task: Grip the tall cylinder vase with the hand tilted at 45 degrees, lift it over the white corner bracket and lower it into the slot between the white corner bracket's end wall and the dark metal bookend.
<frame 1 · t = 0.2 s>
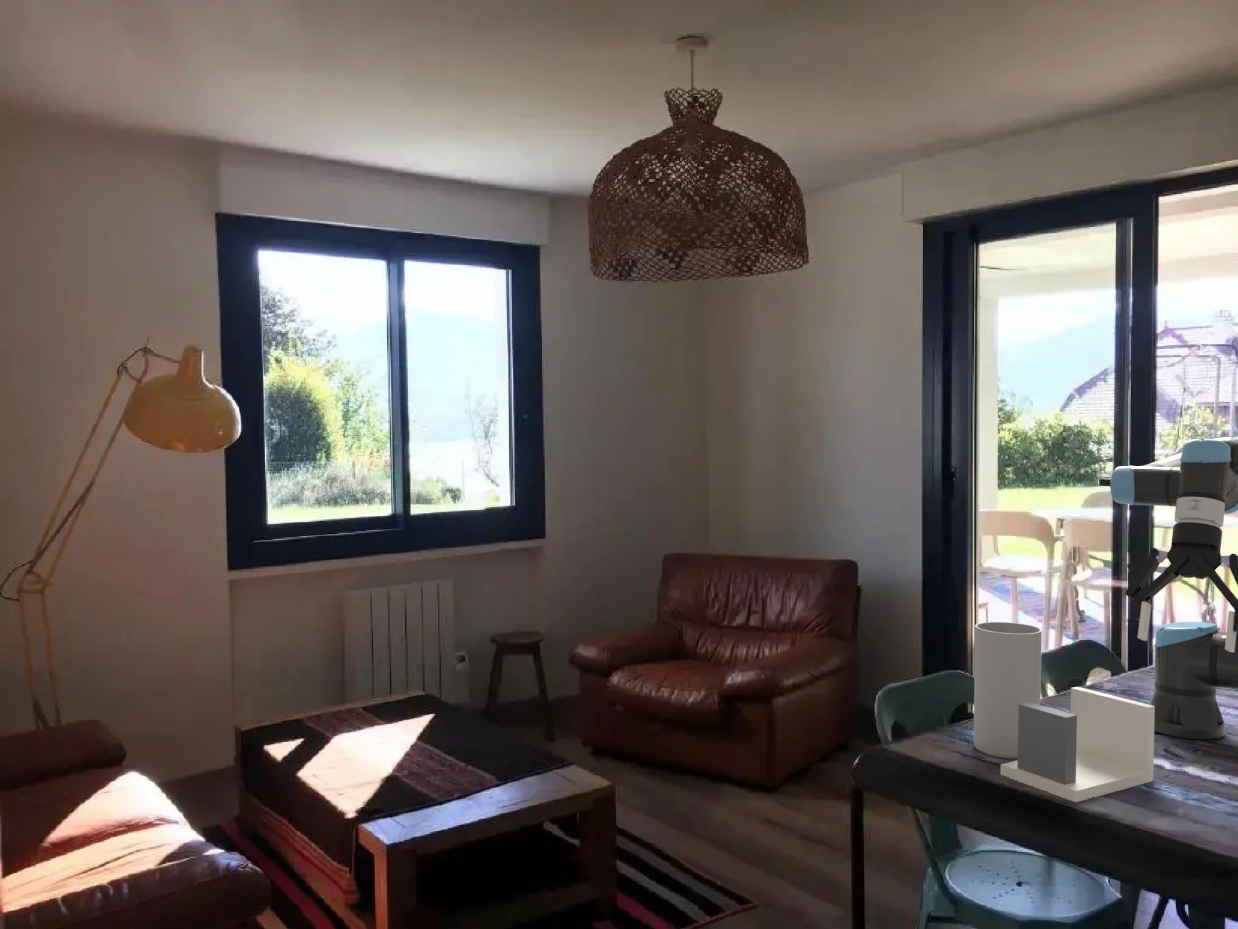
hand: (1184, 645, 172), 28 cm above the table, tool tilted 20°, fingers open, 13 cm apart
white corner bracket: (1076, 778, 186), on the table
cylinder vase: (1006, 751, 202), on the table
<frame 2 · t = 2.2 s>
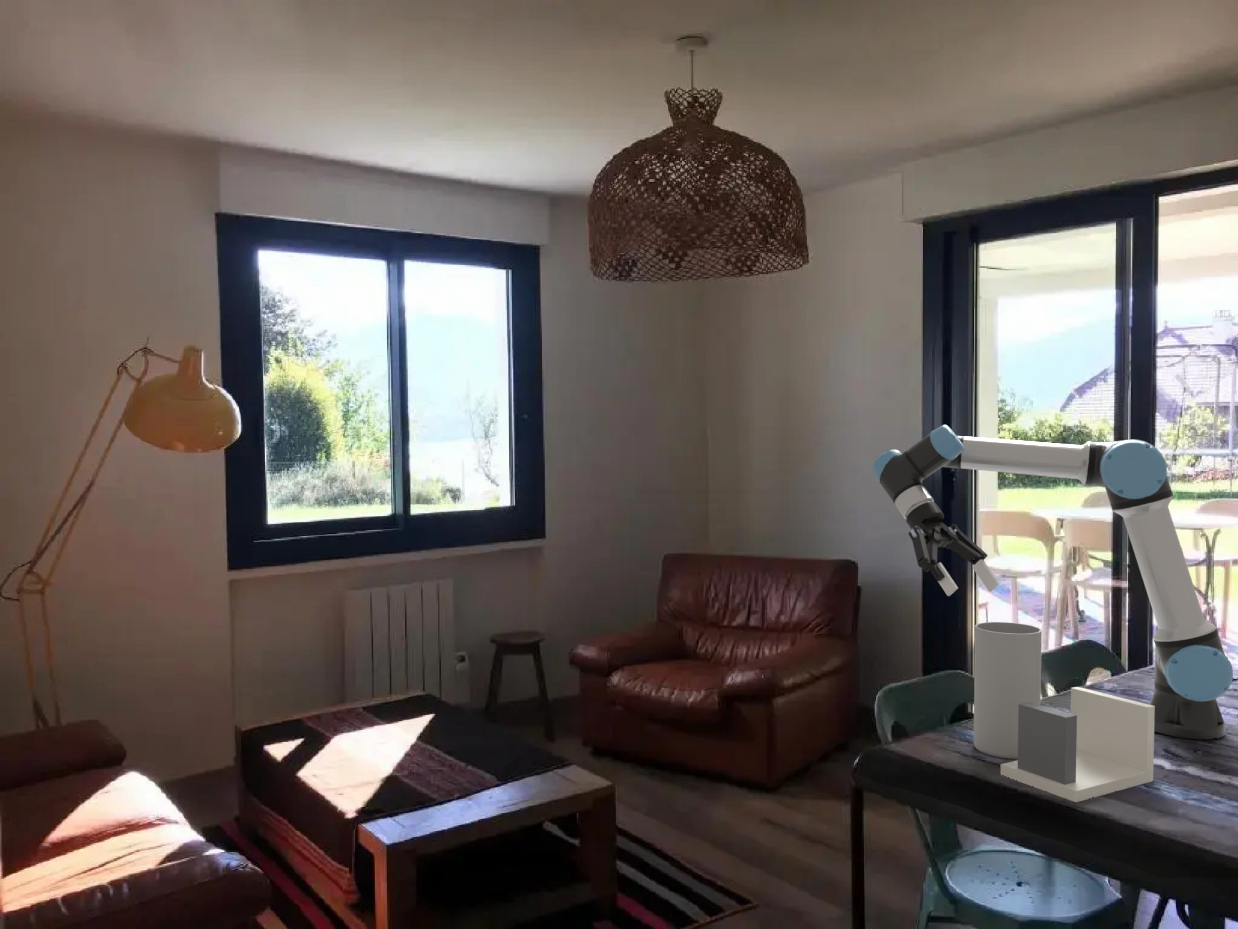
hand: (974, 590, 208), 32 cm above the table, tool tilted 45°, fingers open, 13 cm apart
nothing on the table moved.
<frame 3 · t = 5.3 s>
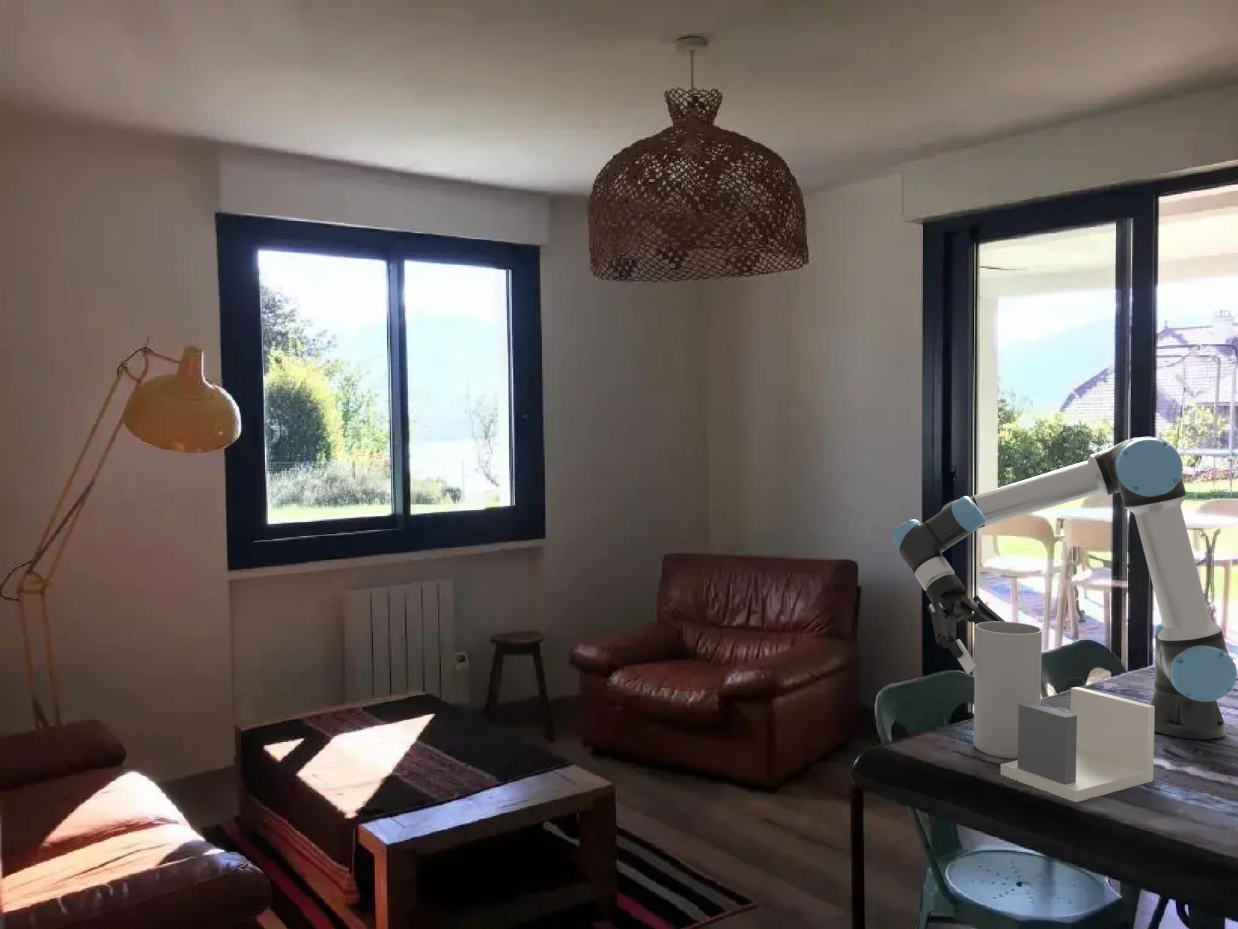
hand: (995, 666, 203), 17 cm above the table, tool tilted 45°, fingers open, 13 cm apart
nothing on the table moved.
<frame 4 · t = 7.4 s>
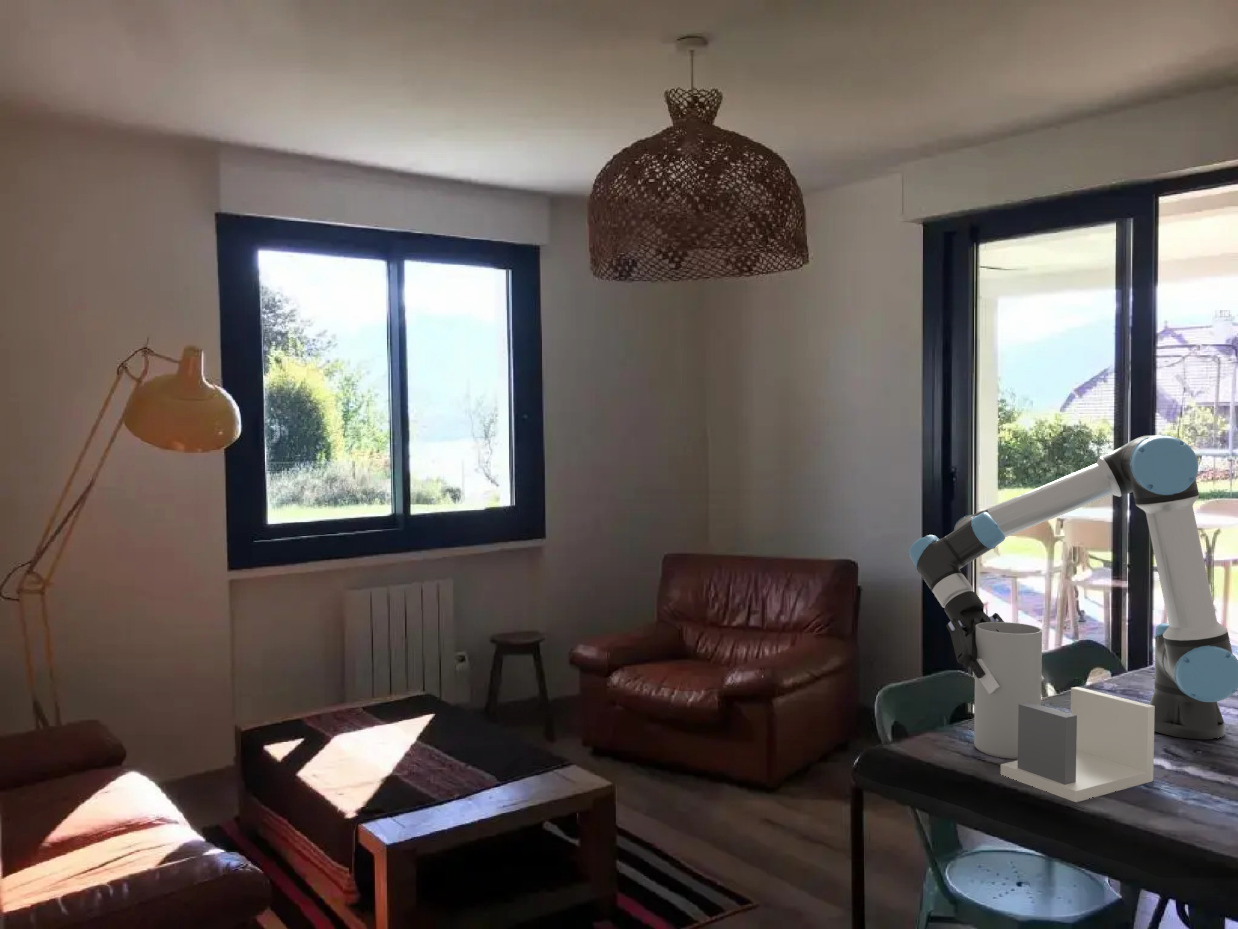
hand: (1017, 686, 199), 14 cm above the table, tool tilted 45°, fingers closed on cylinder vase, 12 cm apart
cylinder vase: (1006, 751, 202), on the table, touching gripper
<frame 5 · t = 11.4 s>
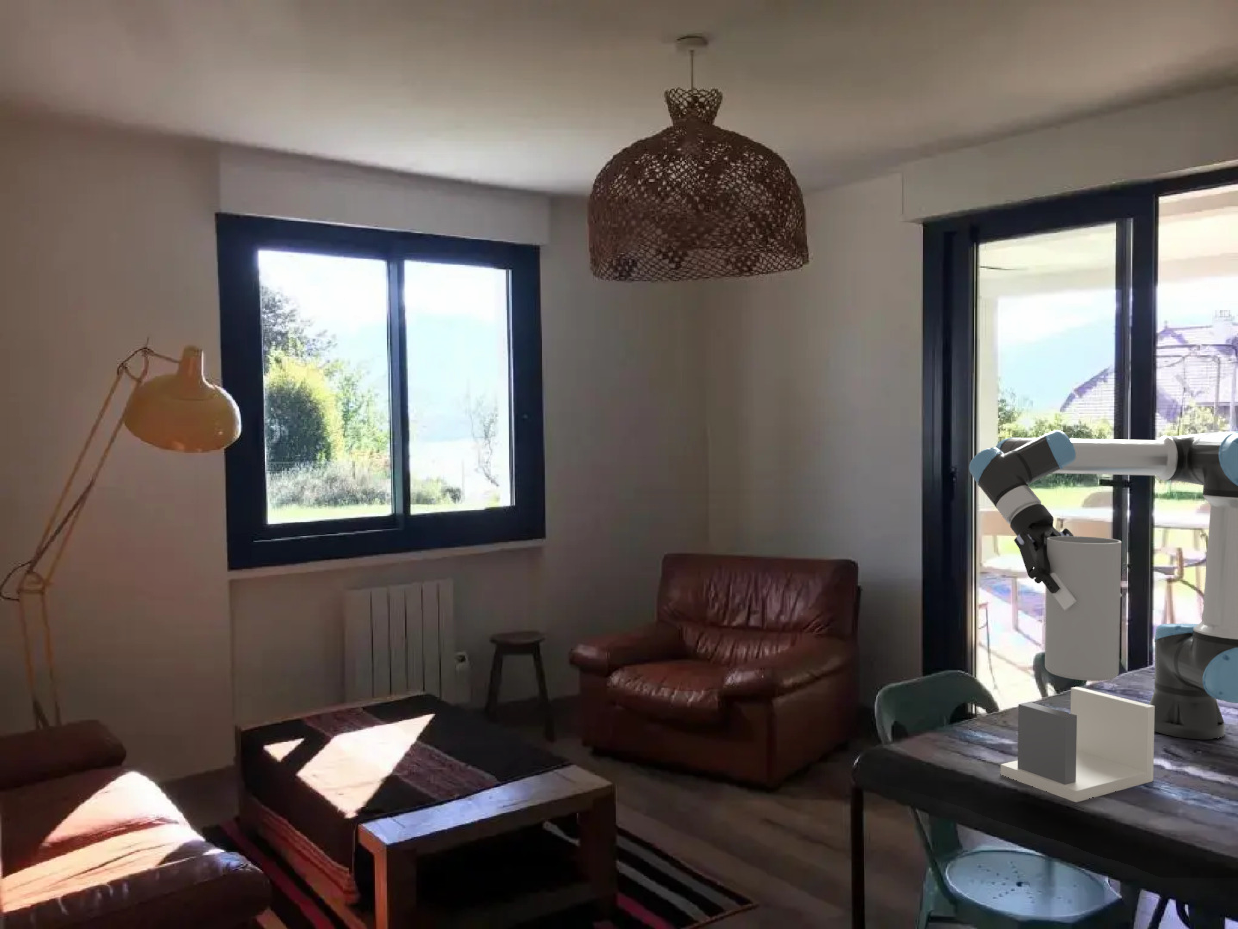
hand: (1094, 603, 183), 33 cm above the table, tool tilted 45°, fingers closed on cylinder vase, 12 cm apart
cylinder vase: (1081, 674, 186), point 19 cm above the table, touching gripper
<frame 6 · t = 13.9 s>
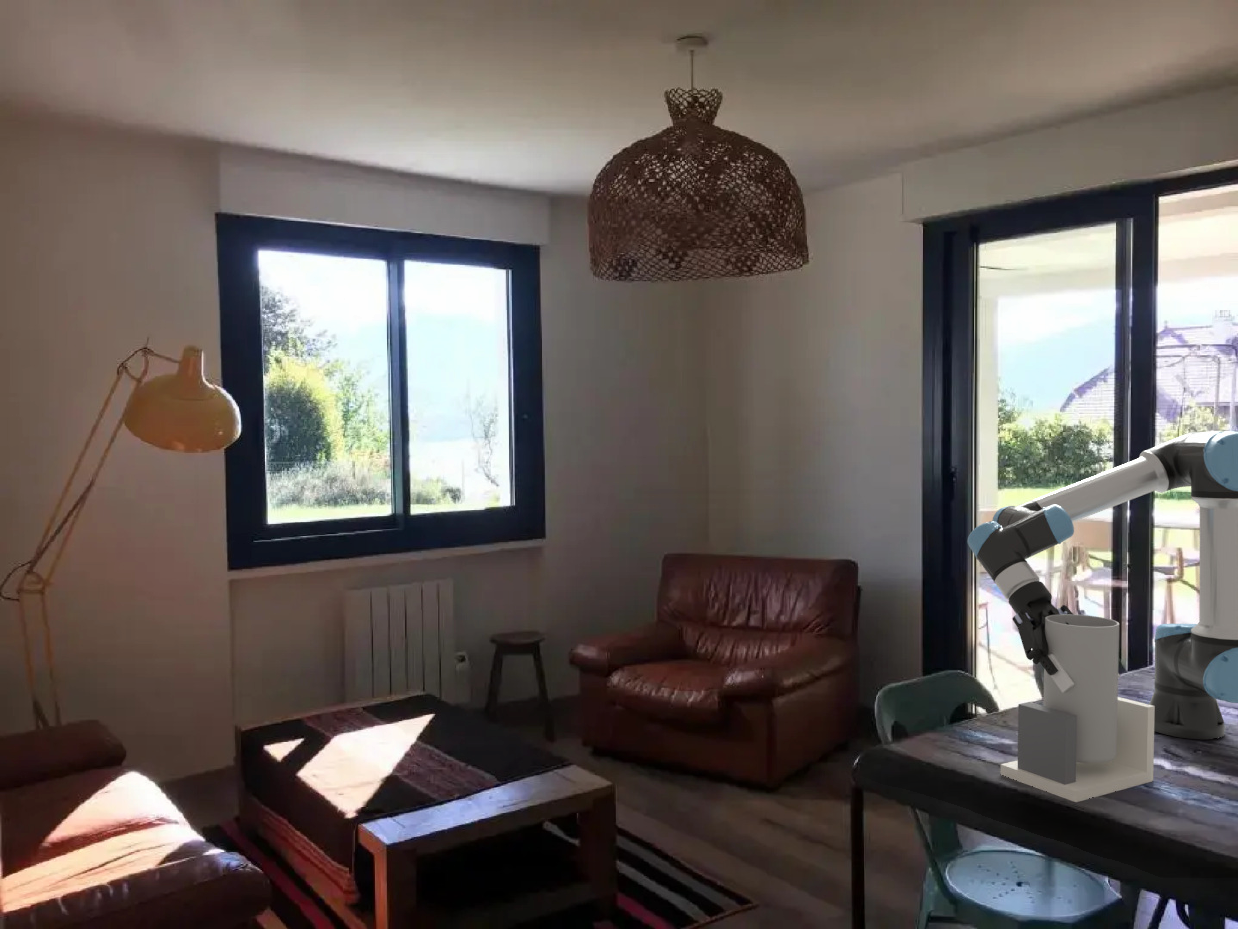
hand: (1091, 684, 184), 18 cm above the table, tool tilted 45°, fingers closed on cylinder vase, 12 cm apart
cylinder vase: (1079, 754, 186), point 4 cm above the table, touching gripper
when the fingers open (17 cm above the table, at t = 15.4 s): cylinder vase drops 1 cm, point 2 cm above the table.
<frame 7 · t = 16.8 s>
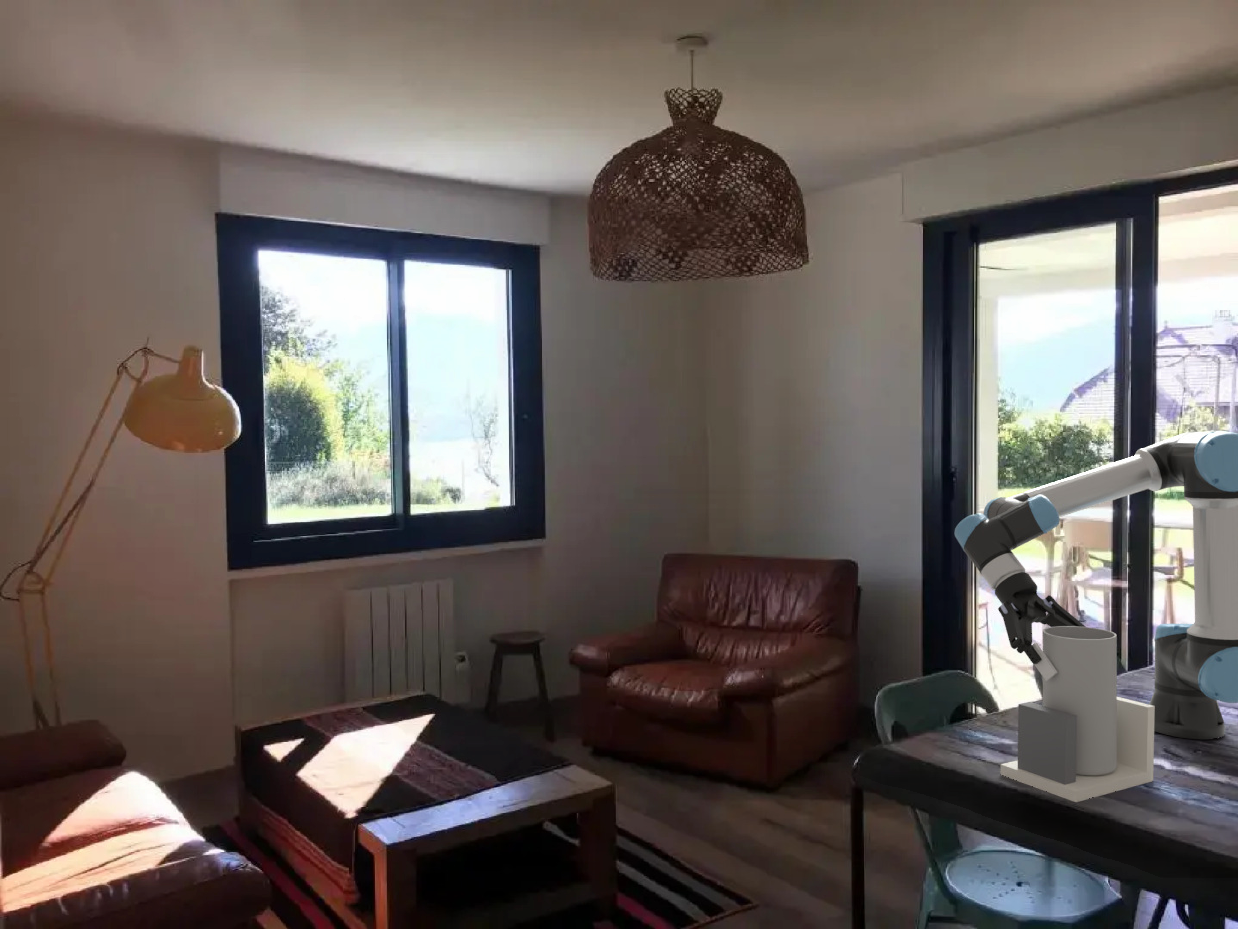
hand: (1075, 672, 186), 20 cm above the table, tool tilted 45°, fingers open, 13 cm apart
cylinder vase: (1079, 766, 186), point 2 cm above the table
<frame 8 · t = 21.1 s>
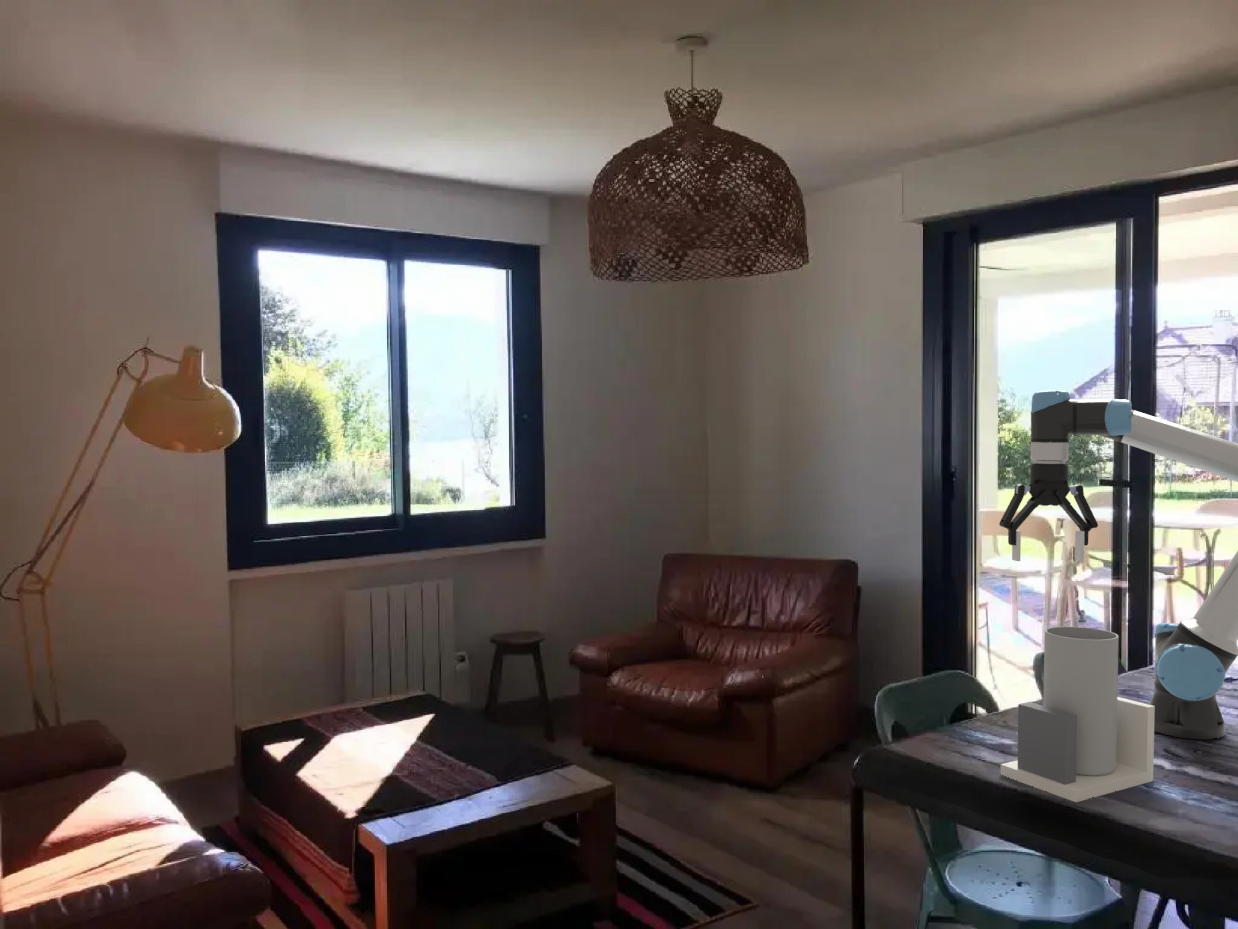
hand: (1047, 560, 215), 37 cm above the table, tool pointing down, fingers open, 13 cm apart
cylinder vase: (1078, 766, 187), point 2 cm above the table, touching white corner bracket
at the end: cylinder vase inside the target area on the white corner bracket (0.4 cm from its centre), point 1.8 cm above the white corner bracket's base; cylinder vase tilted 0°; the gripper is holding nothing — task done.
